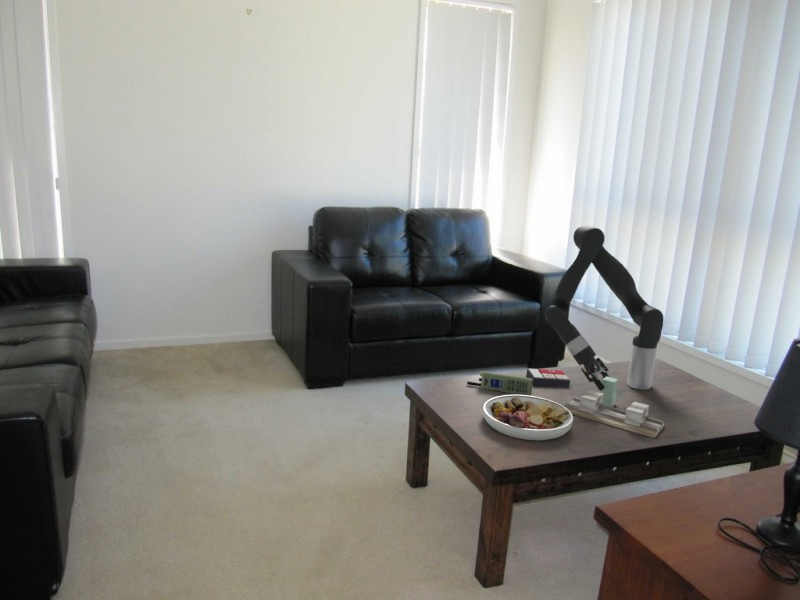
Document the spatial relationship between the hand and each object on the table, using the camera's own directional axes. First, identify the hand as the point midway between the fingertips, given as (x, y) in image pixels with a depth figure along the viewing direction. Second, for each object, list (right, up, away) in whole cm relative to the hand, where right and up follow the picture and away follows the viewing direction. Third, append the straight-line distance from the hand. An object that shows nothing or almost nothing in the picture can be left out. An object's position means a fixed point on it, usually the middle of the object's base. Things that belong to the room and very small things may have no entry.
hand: (606, 386), depth 234 cm
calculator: (-17, -2, +23) cm, 28 cm away
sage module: (0, -7, +1) cm, 7 cm away
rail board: (-2, -10, -12) cm, 15 cm away
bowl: (-34, -11, -19) cm, 40 cm away
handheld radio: (-39, -3, +11) cm, 40 cm away
